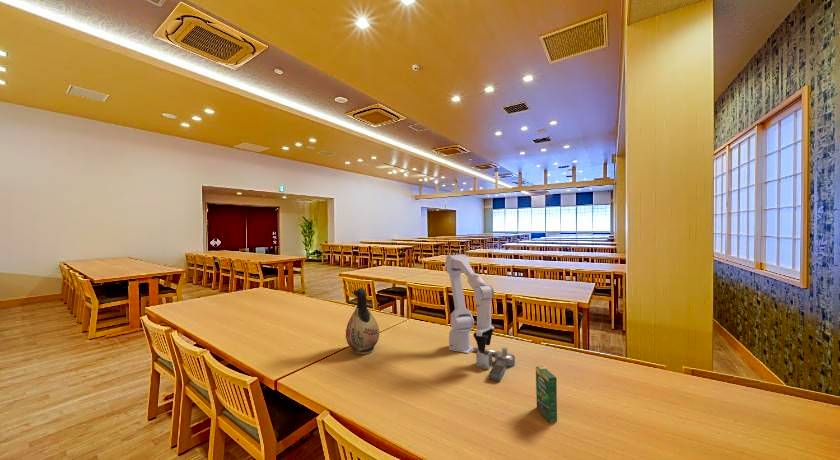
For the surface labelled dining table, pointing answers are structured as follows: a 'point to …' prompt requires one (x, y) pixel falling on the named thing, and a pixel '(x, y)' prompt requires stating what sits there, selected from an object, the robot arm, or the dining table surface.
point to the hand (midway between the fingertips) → (484, 348)
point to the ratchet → (501, 364)
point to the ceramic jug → (362, 327)
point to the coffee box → (546, 393)
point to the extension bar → (486, 349)
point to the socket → (484, 359)
